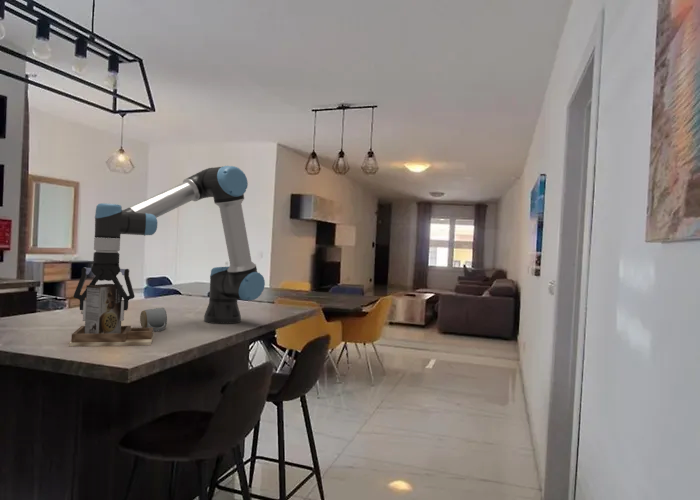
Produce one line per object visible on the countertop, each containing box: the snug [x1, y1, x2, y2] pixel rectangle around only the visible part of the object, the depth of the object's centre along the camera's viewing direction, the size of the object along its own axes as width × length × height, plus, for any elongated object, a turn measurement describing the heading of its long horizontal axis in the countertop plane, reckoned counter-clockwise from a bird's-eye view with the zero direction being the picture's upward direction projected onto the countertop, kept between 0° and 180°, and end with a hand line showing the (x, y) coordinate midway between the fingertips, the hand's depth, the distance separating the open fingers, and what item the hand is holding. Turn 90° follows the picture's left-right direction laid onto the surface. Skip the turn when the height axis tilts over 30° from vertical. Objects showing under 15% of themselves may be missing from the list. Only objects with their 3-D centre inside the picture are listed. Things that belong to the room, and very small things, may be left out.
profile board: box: [68, 325, 155, 347], centre depth 162 cm, size 23×17×4 cm
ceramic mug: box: [139, 307, 168, 332], centre depth 186 cm, size 11×8×8 cm
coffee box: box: [84, 283, 124, 334], centre depth 161 cm, size 9×6×16 cm
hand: (103, 320), depth 161 cm, fingers closed on coffee box, 10 cm apart
